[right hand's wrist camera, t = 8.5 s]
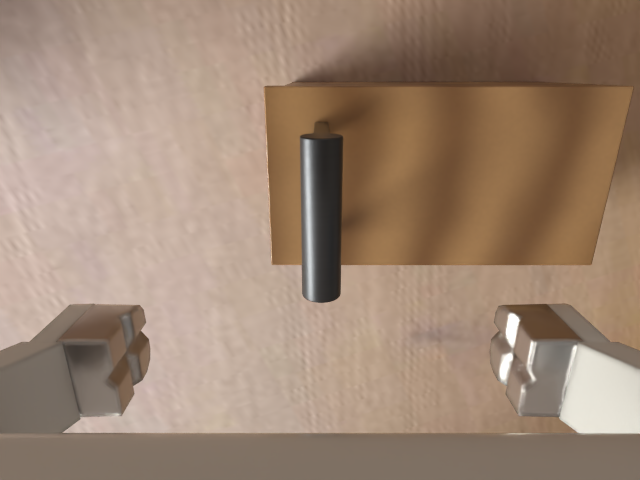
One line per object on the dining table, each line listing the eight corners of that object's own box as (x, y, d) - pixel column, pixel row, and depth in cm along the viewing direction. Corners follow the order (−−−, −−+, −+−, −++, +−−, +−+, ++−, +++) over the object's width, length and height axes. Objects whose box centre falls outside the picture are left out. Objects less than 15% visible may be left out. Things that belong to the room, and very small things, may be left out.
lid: (273, 257, 26) (253, 335, 18) (266, 85, 23) (237, 92, 15) (580, 257, 26) (691, 336, 18) (620, 85, 23) (776, 92, 15)
